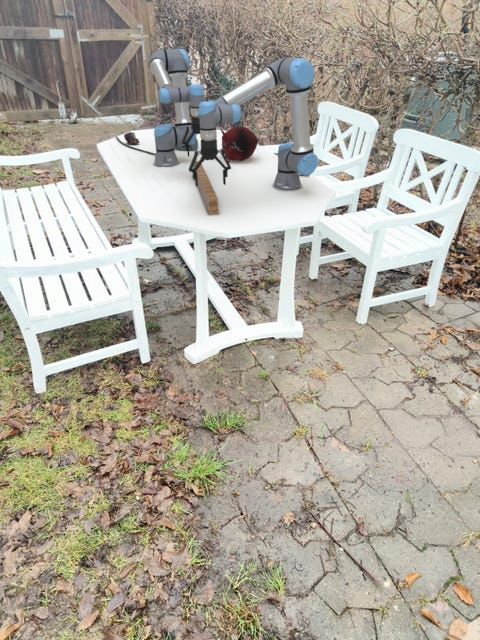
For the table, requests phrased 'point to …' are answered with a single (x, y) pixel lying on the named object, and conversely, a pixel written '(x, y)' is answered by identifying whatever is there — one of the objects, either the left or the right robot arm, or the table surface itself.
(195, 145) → the grey slotted block
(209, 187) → the post
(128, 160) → the table surface
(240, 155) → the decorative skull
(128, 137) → the rock
